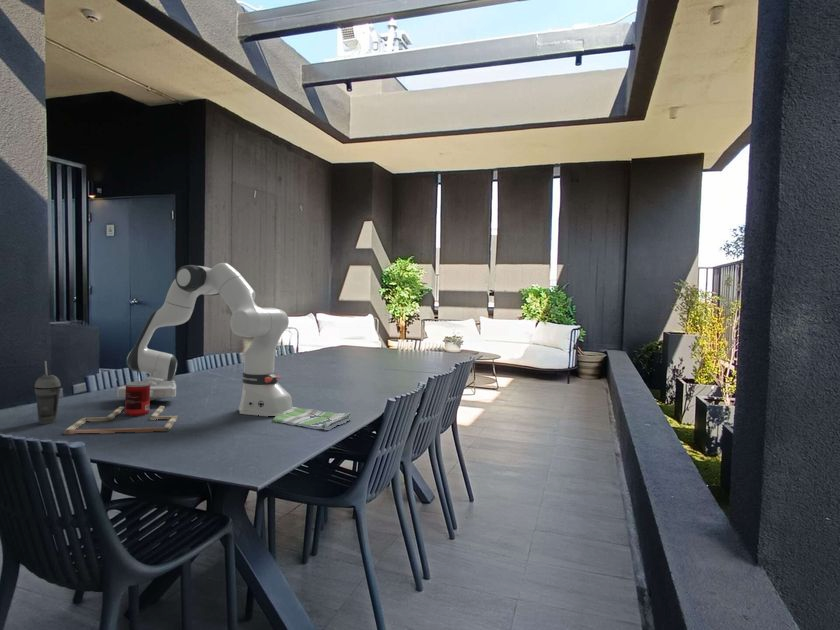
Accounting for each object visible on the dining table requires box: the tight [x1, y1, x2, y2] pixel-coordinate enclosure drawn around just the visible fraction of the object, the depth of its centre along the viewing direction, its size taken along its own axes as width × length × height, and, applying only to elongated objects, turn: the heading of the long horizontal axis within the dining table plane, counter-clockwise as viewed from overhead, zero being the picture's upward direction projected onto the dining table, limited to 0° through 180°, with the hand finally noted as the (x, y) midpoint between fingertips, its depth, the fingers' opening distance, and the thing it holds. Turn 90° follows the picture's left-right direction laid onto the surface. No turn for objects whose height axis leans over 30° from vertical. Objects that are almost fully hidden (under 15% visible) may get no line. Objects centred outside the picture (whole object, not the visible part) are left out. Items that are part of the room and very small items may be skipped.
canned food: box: [124, 380, 151, 417], centre depth 187 cm, size 8×8×11 cm
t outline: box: [62, 405, 179, 435], centre depth 178 cm, size 32×29×1 cm
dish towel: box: [271, 407, 351, 428], centre depth 187 cm, size 17×23×4 cm
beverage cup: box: [33, 360, 62, 425], centre depth 171 cm, size 7×7×20 cm
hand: (142, 395), depth 194 cm, fingers closed
